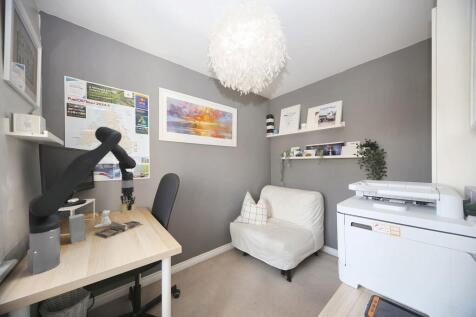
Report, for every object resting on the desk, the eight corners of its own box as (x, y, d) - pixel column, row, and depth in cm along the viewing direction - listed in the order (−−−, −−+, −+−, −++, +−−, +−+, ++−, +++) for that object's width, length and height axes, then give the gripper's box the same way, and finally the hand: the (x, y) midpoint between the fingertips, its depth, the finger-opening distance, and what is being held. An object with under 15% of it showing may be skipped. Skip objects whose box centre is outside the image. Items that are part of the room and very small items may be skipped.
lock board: (106, 240, 102) (106, 232, 102) (91, 236, 109) (91, 228, 109) (143, 225, 125) (143, 218, 125) (129, 222, 132) (129, 216, 132)
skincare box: (86, 241, 101) (85, 215, 101) (69, 246, 96) (69, 218, 96) (84, 237, 107) (84, 212, 107) (68, 241, 102) (68, 215, 102)
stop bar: (132, 209, 127) (132, 201, 127) (135, 209, 126) (135, 201, 126) (119, 212, 119) (119, 204, 119) (123, 213, 118) (122, 204, 118)
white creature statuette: (103, 223, 130) (103, 208, 130) (114, 223, 130) (114, 208, 131) (93, 228, 121) (93, 212, 121) (106, 228, 121) (105, 211, 121)
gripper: (139, 186, 123) (139, 209, 123) (126, 185, 129) (126, 207, 129) (128, 187, 117) (129, 212, 116) (116, 186, 122) (116, 210, 122)
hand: (127, 209), depth 123 cm, fingers closed on stop bar, 3 cm apart
